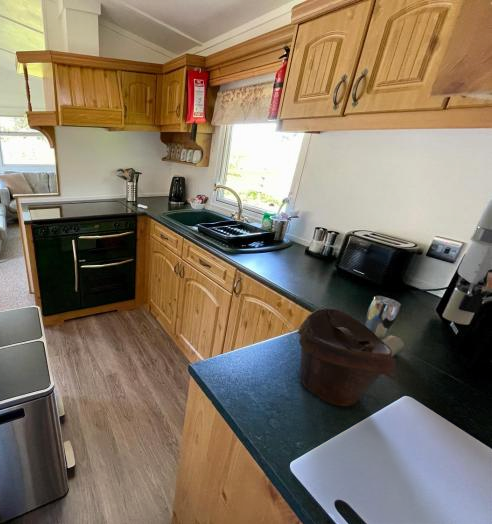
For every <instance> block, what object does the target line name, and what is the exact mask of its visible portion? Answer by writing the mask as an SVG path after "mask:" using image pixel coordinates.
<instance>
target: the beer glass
mask: <svg viewBox="0 0 492 524" xmlns="http://www.w3.org/2000/svg"><path fill="white" fill-rule="evenodd" d="M401 305H402V304H401V303H400V302H399V301H397V300H395V299H393V298H390V297H386V296H382V295H375V296H373V299H372V301H371V302H370V304H369V307H368V309H367V311H366V317H365V324H364V325H365V326H366V327H367V328H369V329H370V330H371V331H372V332H373V333H374V334H375V335H376V336H377V337H378V338H379V339H380V340H382V339H383V338H385V337H386V334H387V333H388V332H389V330H390V329H391V327H392V326H393V325H394V324H395V322H396V319H397V318H398V315H399V312H400V309H401Z"/></svg>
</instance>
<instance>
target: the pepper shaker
mask: <svg viewBox="0 0 492 524" xmlns="http://www.w3.org/2000/svg"><path fill="white" fill-rule="evenodd" d="M456 287H457V288H455V287H454V288H455V289H454V288H453V290H454V292H453V291H452V292H453V294H452V293H451V295H452V296H451V295H450V297H451V298H450V297H449V300H448V302H447V304H446V306H445V308H444V311H443V313H442V316H441V317H443V318H444V319H445V320H447V321H450V322H452V323H456V324H459V325H464V326H465V325H466V326H467V325H470V324H471V322H472V320H473V318H474V316H475V314H476V313H472V312H467V311H462V310H460V309H459V308H458V307H459V305H460V303H461V301H462V299H463V297H464V295H467V294H468V291H469V288H470V285H468V284H459V285H458V286H456ZM477 289H481V288H480V287H475V290H477ZM475 290H474V291H475Z"/></svg>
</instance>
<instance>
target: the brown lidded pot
mask: <svg viewBox="0 0 492 524" xmlns="http://www.w3.org/2000/svg"><path fill="white" fill-rule="evenodd" d="M297 334H298V335H299V339H298V343H299V345H300V347H301V350H300V351H301V355H300V375H299V377H300V380H301V383H302V385H303V386H304V388H306V389H307V390H308V391H309V392H311V393H312V394H313V395H314V396H317V397H318V398H320V400H323V401H325V402H327V403H330V404H332V405H336V406H340V407H349V406H353V405H354V404H356V403H357V402H358V401H359V400H360V398H361V397H362V396H363V395H364V394H365V393H366V392H367V391H368V390H369V388H370V387H371V386H372V385H373V384H374V383H375V382H376V381H377V379H378V378H379V377H380V376H381V375H382V376H385V377H389V378H391V379H392V380H394V371H395V366H396V360H395V358H394V357H392V352H391V350H390V349H389V348H388V347H387V346H386V344H385V343H384V342H383V341H382V340H380V339H379V338H378V337H377V336H376V335H375V334H374V333H373V332H372V331H371V330H370V329H369V328H367V327H366V326H365V324H364V323H362V322H361V321H360V320H358V319H357V318H355V317H353V316H351V315H350V314H348V313H346V312H344V311H341V310H339V309H335V308H329V307H325V308H320V309H319V308H318V309H316V310H315V311H313V312H311V313H310V314H308V315H307V317H306V318H305V319H304V320H303V322H302V323H301V324H300V326H299V328H298V330H297Z"/></svg>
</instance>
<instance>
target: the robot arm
mask: <svg viewBox="0 0 492 524" xmlns="http://www.w3.org/2000/svg"><path fill="white" fill-rule="evenodd" d="M469 240H470V241H471V244H470V245H469V246H468V248H467V250H466V252H465V254H464V256H463V258H462V260H461V262H460V264H459V266H458V269H457V274H458V275H459V276H458V280H457V281H456V282H455V286H454V288H453V291H452V292H451V295H450V296H449V299H450V298H451V296H452V294H453V292H454V289H455V288H457V287H458V285H459V284H468V285H470V288H469V291H468V294H467V295H464V297H463V299H462V301H461V303H460V305H459V307H458V308H459V309H460V310H462V311H467V312H472V313H475V314H478V311H479V309H480V308H481V306H482V304H483V302H484V300H485V299H487V296H488V295H490V294H492V193H491V194H490V196H489V198H488V201H487V203H486V205H485V207H484V208H483V211H482V214H481V216H480V218H479V220H478V222H477V224H476V226H475V228H474V230H473V233H472V234H471V237H470V239H469ZM479 283H481V284H479ZM475 287H479V288H481V289H477V290H475ZM474 290H475V291H474Z"/></svg>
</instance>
